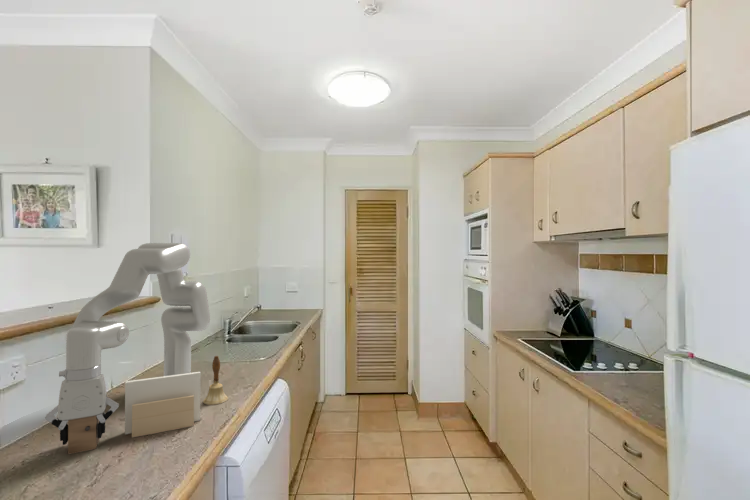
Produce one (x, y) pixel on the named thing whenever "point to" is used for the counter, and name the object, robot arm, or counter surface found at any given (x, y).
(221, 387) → the hand bell
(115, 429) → the counter surface
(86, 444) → the wall box
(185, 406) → the wall board
